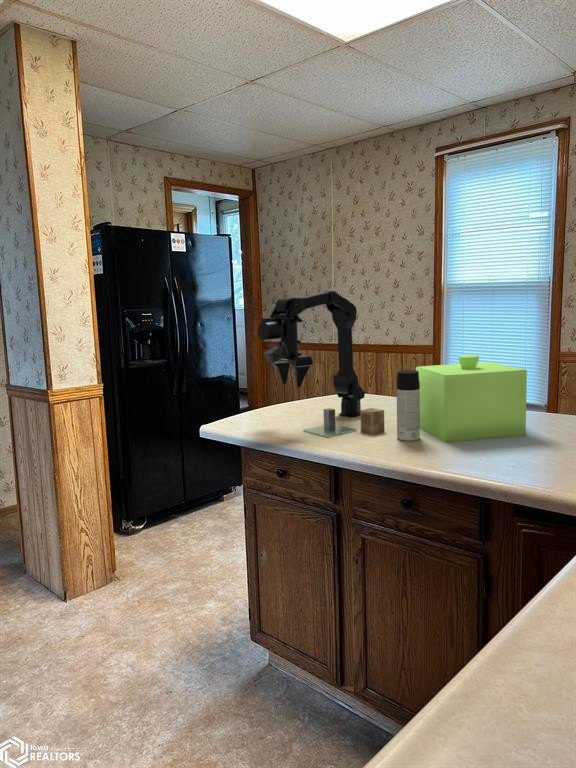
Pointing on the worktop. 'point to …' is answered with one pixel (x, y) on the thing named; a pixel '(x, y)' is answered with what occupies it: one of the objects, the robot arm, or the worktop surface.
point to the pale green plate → (329, 426)
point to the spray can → (408, 405)
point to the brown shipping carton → (372, 420)
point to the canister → (472, 400)
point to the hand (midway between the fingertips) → (291, 385)
